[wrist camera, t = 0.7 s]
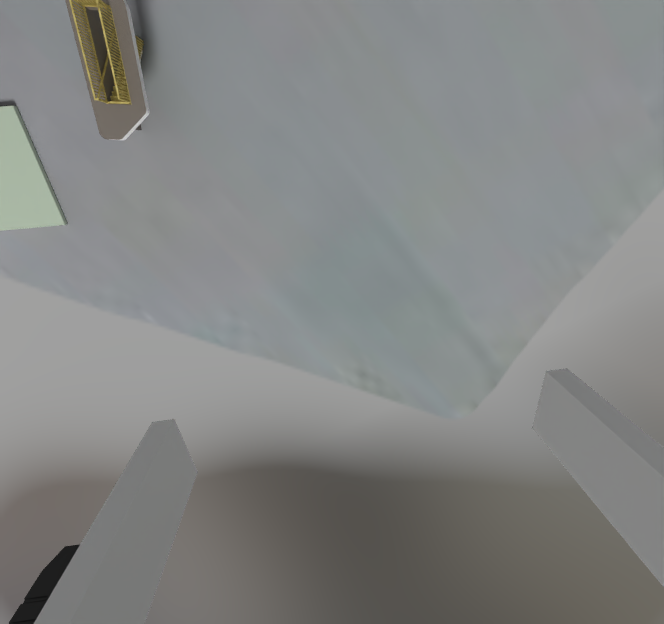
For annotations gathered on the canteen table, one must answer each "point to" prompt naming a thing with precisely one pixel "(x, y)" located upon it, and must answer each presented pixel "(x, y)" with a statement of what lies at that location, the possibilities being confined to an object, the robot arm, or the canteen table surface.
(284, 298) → the canteen table surface
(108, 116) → the platform
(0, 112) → the pad
